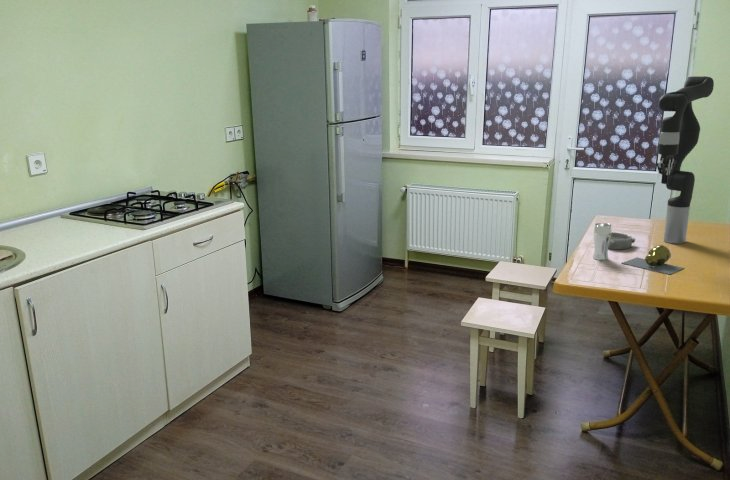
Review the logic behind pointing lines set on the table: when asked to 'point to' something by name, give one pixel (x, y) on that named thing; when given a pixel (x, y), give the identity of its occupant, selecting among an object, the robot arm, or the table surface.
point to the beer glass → (601, 240)
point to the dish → (620, 241)
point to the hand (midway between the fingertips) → (664, 183)
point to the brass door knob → (658, 255)
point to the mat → (658, 268)
